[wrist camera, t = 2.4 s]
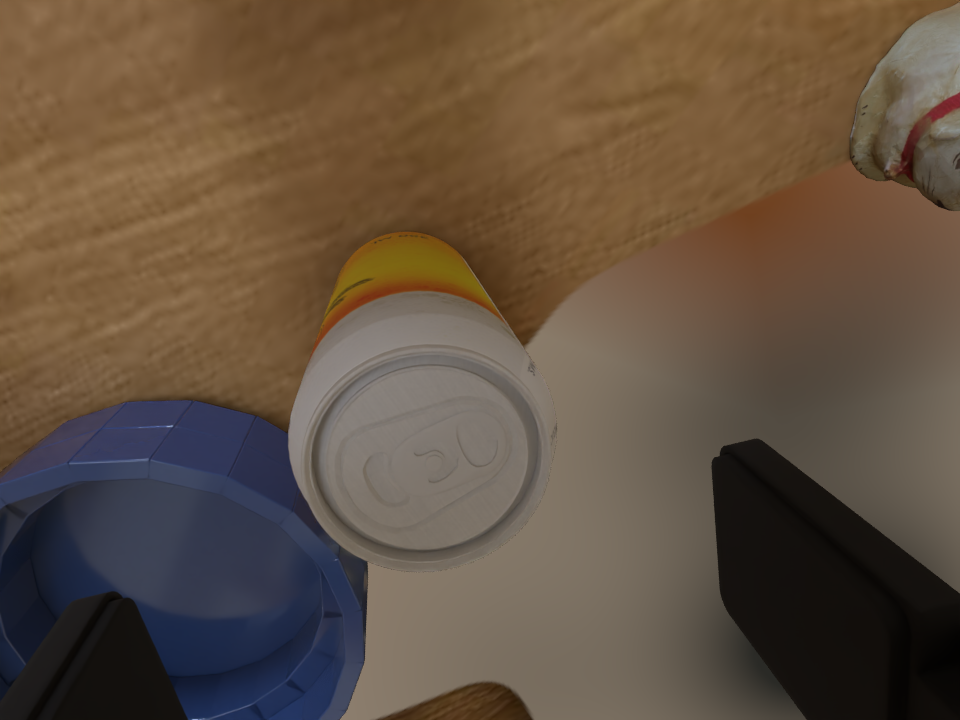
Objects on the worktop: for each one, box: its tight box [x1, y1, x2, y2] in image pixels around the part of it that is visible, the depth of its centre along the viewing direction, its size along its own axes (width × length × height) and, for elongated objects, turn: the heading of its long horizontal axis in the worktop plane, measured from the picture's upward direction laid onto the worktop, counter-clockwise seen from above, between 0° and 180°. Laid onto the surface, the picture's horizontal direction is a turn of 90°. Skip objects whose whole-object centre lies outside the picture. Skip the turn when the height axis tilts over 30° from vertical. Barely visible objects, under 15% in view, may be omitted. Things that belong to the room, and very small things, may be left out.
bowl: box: [0, 400, 368, 720], centre depth 27 cm, size 17×17×6 cm
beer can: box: [288, 232, 557, 572], centre depth 20 cm, size 6×6×15 cm
